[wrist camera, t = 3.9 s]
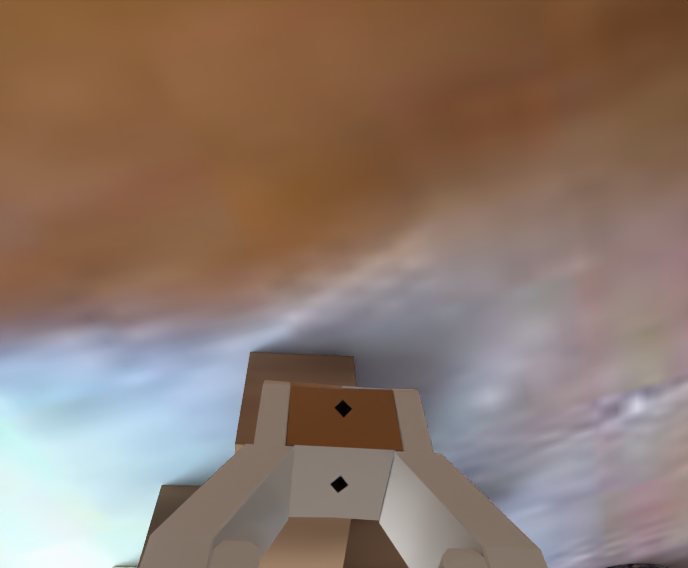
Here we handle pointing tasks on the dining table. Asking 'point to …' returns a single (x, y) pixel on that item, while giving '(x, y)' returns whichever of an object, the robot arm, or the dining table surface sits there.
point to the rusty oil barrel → (638, 566)
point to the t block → (299, 532)
